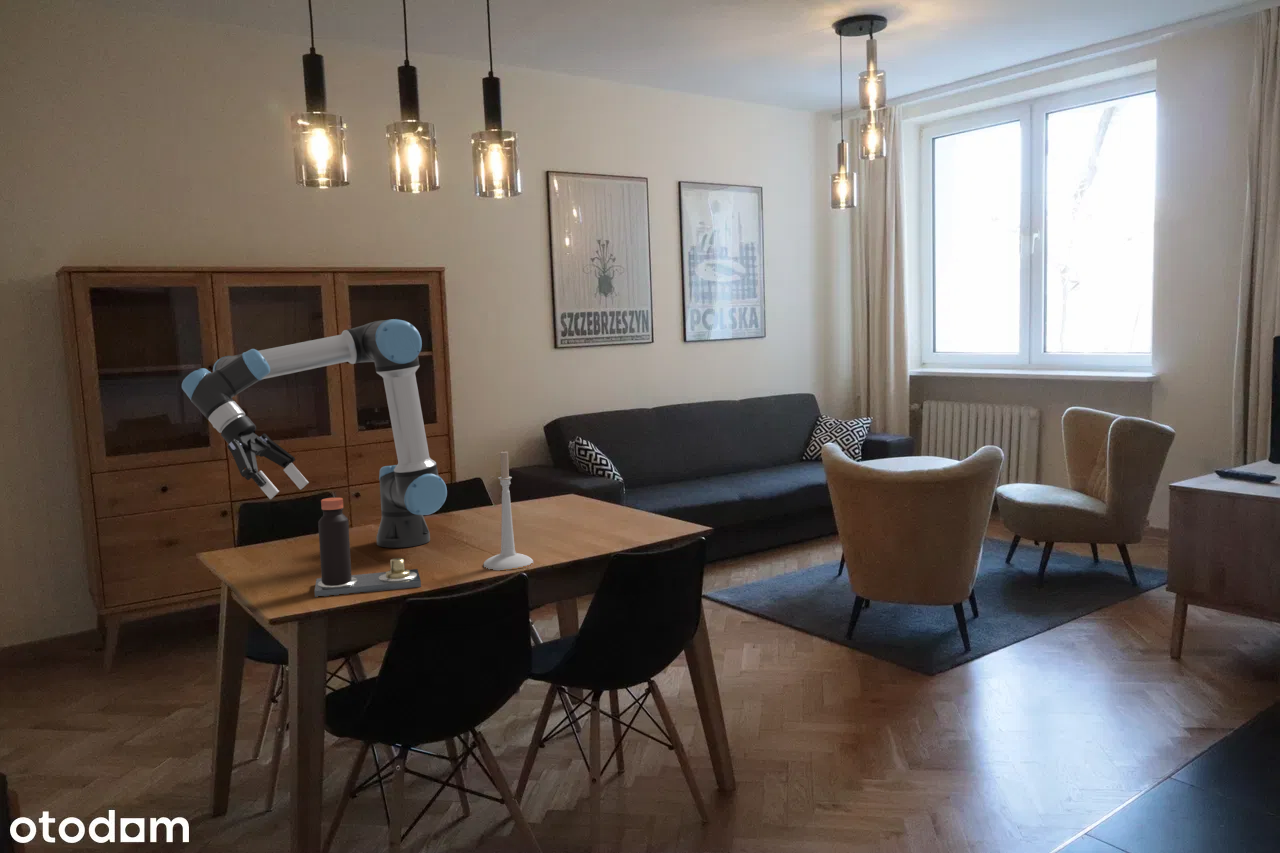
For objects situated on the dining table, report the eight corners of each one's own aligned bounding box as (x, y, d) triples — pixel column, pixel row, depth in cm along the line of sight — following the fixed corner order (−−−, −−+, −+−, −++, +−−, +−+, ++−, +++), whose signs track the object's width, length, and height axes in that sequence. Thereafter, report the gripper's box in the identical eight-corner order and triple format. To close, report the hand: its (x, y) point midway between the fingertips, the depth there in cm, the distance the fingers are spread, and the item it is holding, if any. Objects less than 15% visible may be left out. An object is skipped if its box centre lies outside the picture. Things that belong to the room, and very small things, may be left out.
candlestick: (529, 570, 235) (525, 452, 232) (479, 571, 236) (474, 453, 233) (536, 558, 248) (532, 446, 245) (488, 558, 248) (483, 447, 245)
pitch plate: (417, 574, 233) (416, 552, 233) (420, 586, 222) (419, 563, 221) (316, 584, 226) (315, 561, 226) (314, 597, 215) (313, 573, 214)
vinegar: (326, 579, 225) (321, 497, 223) (354, 577, 225) (350, 496, 223) (318, 586, 218) (313, 502, 216) (347, 585, 218) (343, 501, 217)
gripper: (252, 429, 238) (306, 491, 237) (190, 440, 213) (250, 510, 213) (271, 410, 236) (325, 472, 236) (211, 419, 212) (271, 489, 211)
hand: (290, 490), depth 224 cm, fingers open, 13 cm apart
